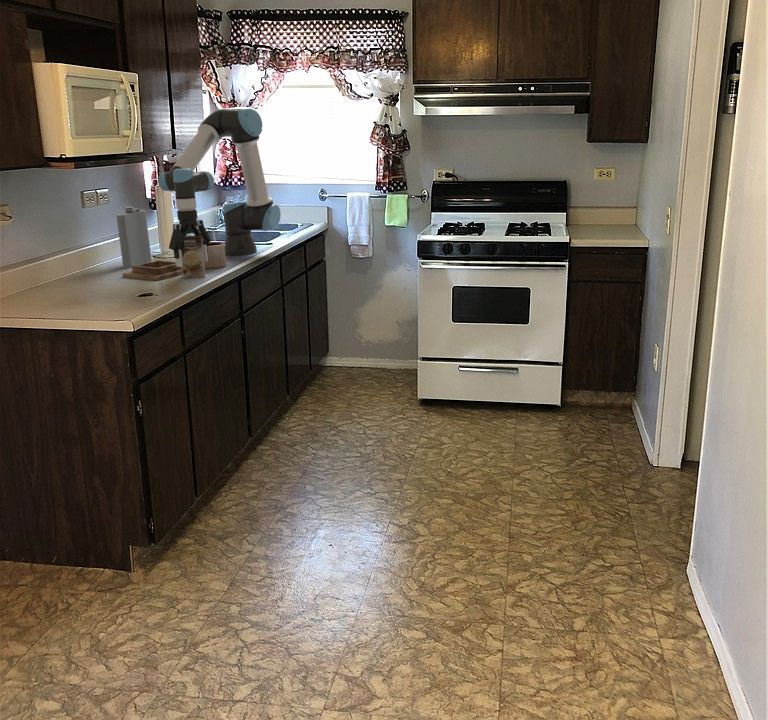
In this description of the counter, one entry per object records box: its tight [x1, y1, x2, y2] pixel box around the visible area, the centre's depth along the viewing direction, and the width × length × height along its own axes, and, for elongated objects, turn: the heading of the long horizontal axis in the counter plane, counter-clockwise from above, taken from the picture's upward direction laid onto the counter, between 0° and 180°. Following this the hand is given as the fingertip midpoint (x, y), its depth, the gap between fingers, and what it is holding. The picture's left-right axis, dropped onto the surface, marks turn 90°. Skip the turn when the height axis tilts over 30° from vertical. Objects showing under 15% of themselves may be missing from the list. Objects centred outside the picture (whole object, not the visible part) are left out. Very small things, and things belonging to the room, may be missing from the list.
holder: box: [122, 259, 182, 282], centre depth 326 cm, size 20×20×4 cm
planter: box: [204, 241, 227, 270], centre depth 337 cm, size 11×11×10 cm
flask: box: [115, 206, 152, 269], centre depth 347 cm, size 17×5×25 cm, turn 161°
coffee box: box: [179, 234, 207, 279], centre depth 317 cm, size 9×6×16 cm
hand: (192, 263), depth 318 cm, fingers open, 13 cm apart
